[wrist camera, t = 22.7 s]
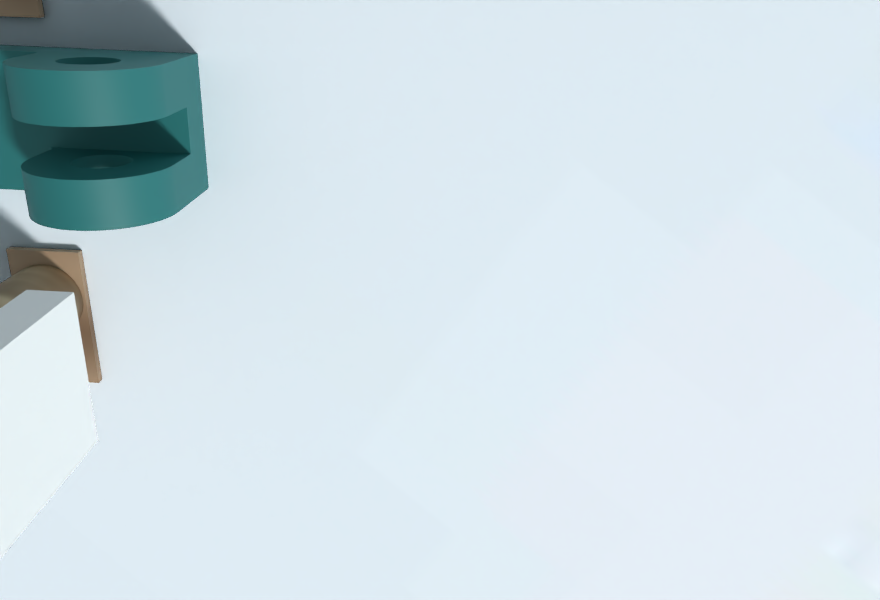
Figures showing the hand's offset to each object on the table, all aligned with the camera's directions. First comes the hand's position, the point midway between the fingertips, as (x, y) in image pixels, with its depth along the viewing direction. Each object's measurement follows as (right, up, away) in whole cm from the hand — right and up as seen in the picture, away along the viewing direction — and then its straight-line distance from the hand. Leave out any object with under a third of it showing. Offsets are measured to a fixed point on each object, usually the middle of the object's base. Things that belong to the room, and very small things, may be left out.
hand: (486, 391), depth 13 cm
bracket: (-22, +11, +29) cm, 38 cm away
